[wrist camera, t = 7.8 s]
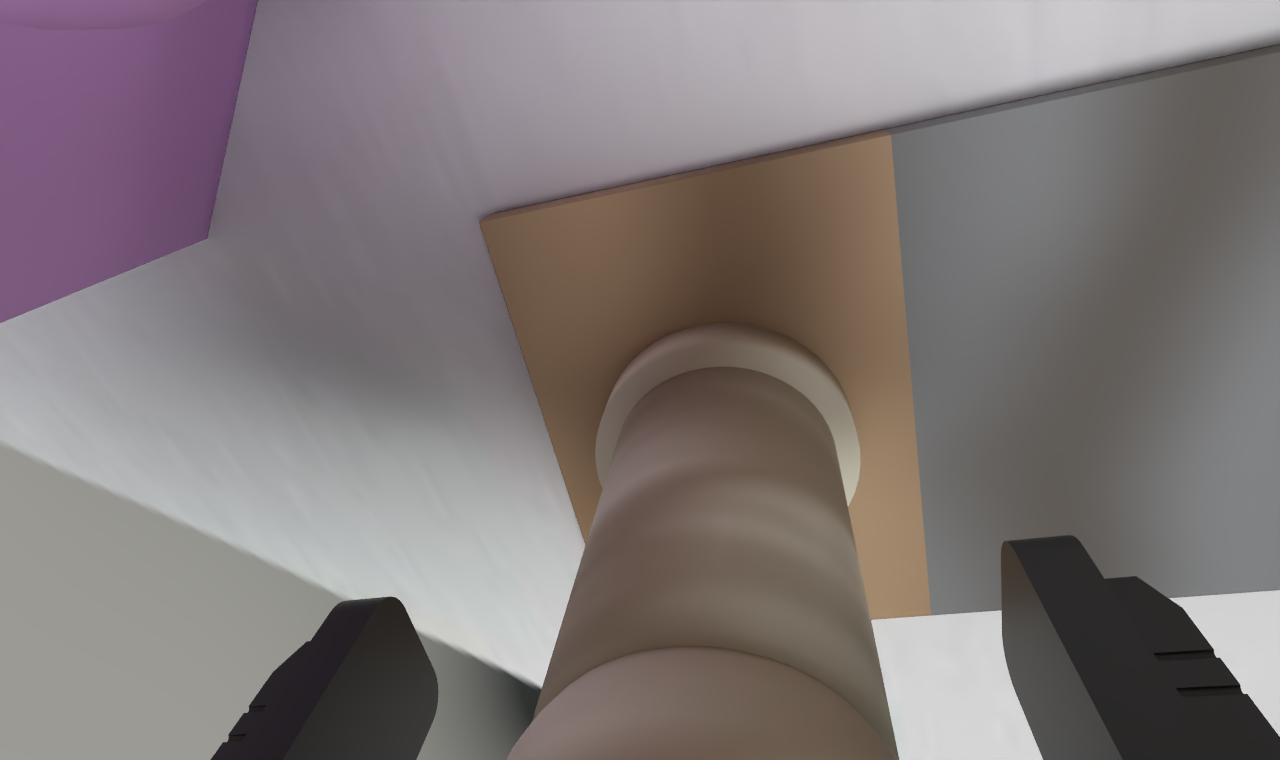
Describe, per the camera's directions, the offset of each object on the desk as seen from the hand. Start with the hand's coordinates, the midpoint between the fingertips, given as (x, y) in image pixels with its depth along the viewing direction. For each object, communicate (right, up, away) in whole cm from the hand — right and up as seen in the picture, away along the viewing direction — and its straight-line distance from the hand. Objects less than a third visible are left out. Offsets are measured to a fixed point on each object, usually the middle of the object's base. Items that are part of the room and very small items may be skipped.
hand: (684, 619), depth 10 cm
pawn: (+1, +2, +4) cm, 5 cm away
